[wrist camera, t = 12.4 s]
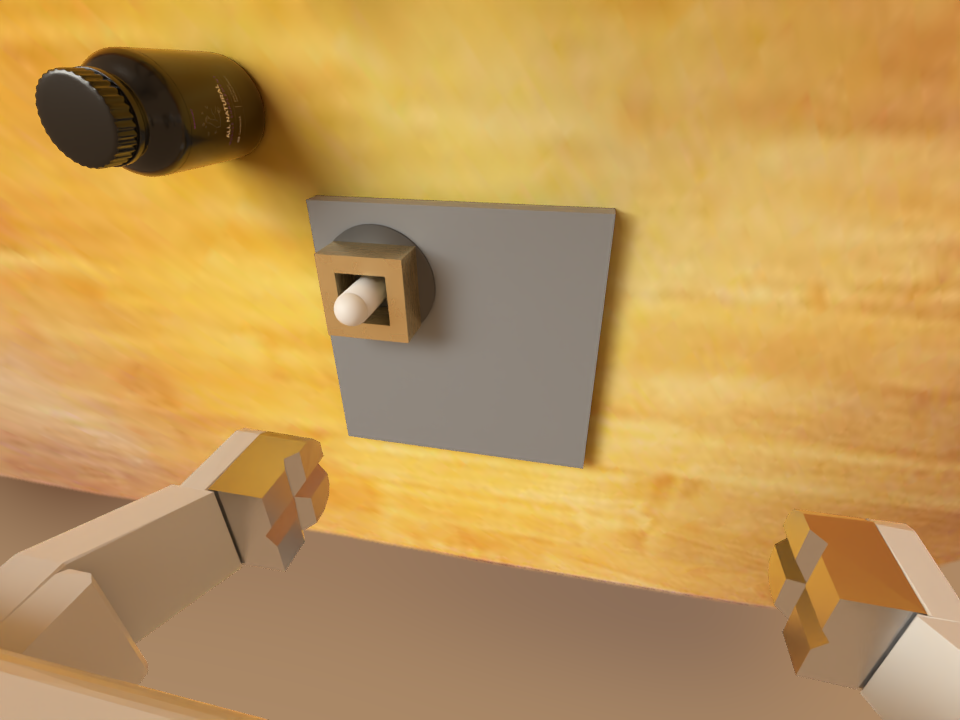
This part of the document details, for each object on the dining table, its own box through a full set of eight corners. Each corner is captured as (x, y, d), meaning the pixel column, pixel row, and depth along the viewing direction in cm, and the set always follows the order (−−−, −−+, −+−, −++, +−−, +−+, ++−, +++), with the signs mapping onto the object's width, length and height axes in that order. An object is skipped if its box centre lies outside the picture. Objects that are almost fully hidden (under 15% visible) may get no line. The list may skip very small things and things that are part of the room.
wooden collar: (415, 246, 36) (401, 259, 34) (421, 325, 40) (408, 343, 37) (333, 240, 38) (314, 253, 35) (345, 318, 41) (328, 335, 38)
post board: (615, 208, 34) (617, 243, 27) (583, 457, 45) (579, 523, 39) (316, 195, 38) (256, 222, 32) (355, 426, 49) (317, 481, 43)
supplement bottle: (287, 120, 36) (161, 143, 26) (232, 175, 39) (99, 215, 29) (217, 25, 33) (49, 11, 23) (164, 92, 37) (-6, 104, 26)
